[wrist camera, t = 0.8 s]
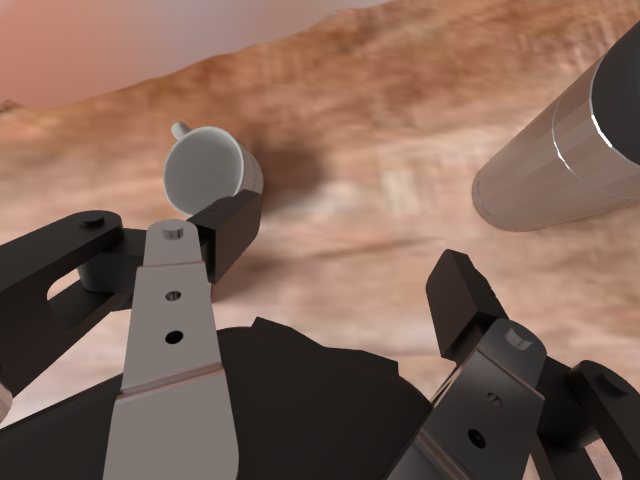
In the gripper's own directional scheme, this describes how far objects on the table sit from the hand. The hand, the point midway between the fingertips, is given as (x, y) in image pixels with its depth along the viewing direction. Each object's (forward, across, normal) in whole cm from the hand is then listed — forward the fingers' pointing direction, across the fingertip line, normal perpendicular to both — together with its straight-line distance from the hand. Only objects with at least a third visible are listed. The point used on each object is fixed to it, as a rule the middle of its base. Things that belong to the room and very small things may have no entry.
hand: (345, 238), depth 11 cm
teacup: (+24, +17, +10) cm, 31 cm away
